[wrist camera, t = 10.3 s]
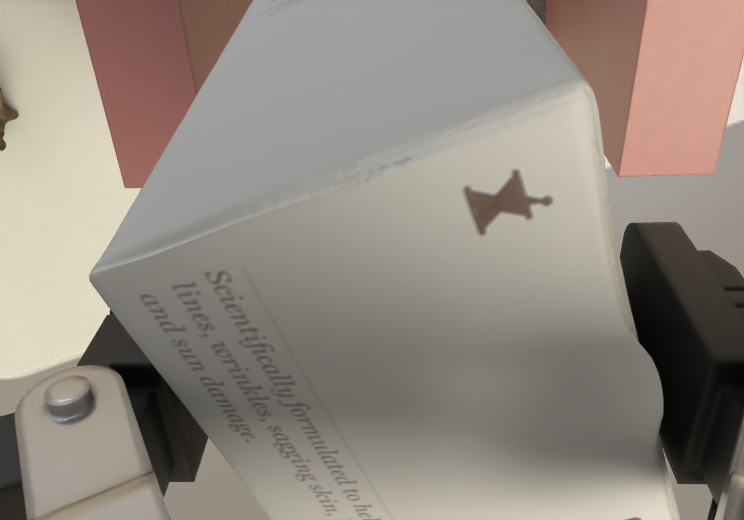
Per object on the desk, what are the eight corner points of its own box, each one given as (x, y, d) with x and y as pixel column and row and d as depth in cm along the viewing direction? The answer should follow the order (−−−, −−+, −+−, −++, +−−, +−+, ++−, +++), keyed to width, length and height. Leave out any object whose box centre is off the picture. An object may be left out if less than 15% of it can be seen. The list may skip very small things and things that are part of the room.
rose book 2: (553, -83, 30) (650, -24, 18) (622, -86, 30) (764, -29, 18) (541, 53, 33) (617, 177, 22) (603, 51, 33) (714, 175, 22)
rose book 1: (198, -67, 31) (73, -2, 19) (263, -70, 31) (177, -6, 19) (219, 64, 34) (124, 189, 23) (278, 62, 34) (213, 187, 22)
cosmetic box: (264, -23, 20) (19, 247, 7) (465, -108, 18) (597, 43, 6) (369, 217, 24) (330, 654, 11) (540, 162, 22) (712, 591, 10)
